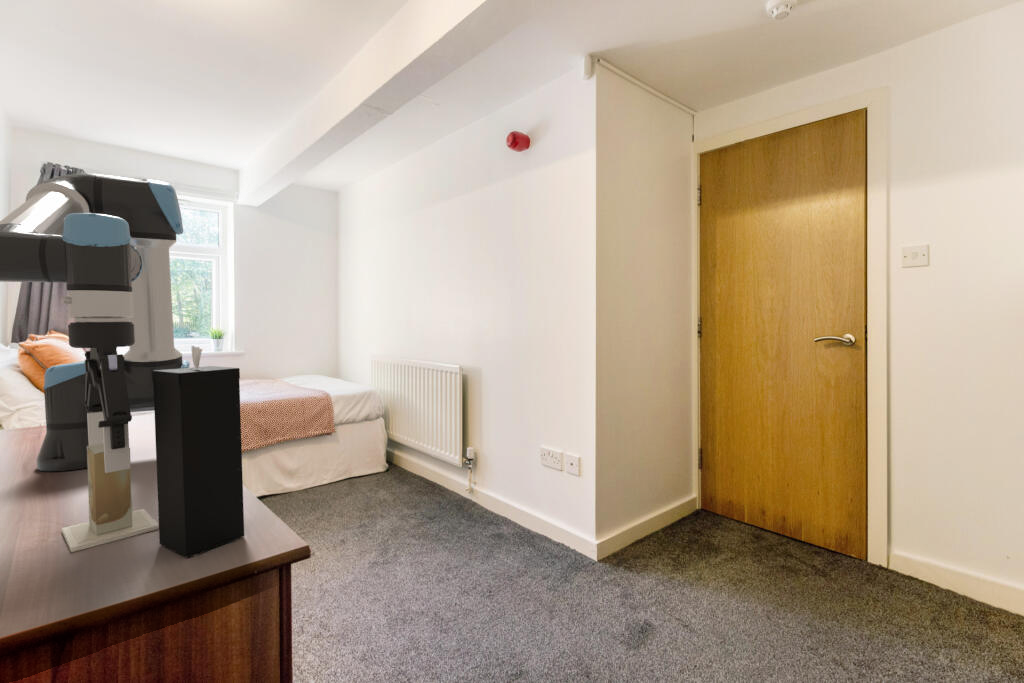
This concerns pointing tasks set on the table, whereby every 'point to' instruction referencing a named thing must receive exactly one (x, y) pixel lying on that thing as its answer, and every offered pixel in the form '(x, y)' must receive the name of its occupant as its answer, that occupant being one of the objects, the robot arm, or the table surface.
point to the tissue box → (198, 456)
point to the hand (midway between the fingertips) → (108, 460)
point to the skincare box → (107, 494)
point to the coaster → (86, 537)
